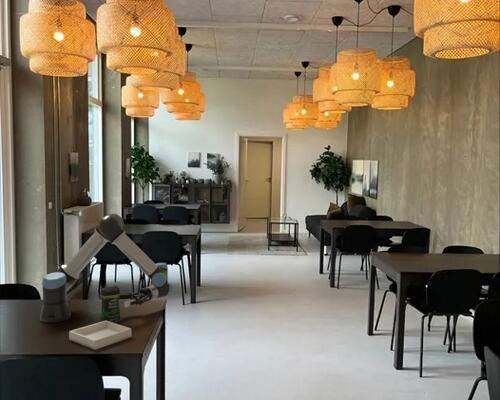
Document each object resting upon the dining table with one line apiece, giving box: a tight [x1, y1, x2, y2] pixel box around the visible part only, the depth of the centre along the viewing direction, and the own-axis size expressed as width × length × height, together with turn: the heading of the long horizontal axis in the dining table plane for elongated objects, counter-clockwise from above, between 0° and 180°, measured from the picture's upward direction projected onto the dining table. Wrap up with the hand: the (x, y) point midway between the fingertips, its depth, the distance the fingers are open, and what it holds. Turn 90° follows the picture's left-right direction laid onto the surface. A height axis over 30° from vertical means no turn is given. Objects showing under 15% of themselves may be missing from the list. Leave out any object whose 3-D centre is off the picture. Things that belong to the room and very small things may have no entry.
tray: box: [68, 321, 133, 351], centre depth 219 cm, size 20×20×4 cm
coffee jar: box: [99, 285, 121, 324], centre depth 242 cm, size 10×8×19 cm
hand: (116, 302), depth 244 cm, fingers open, 13 cm apart
